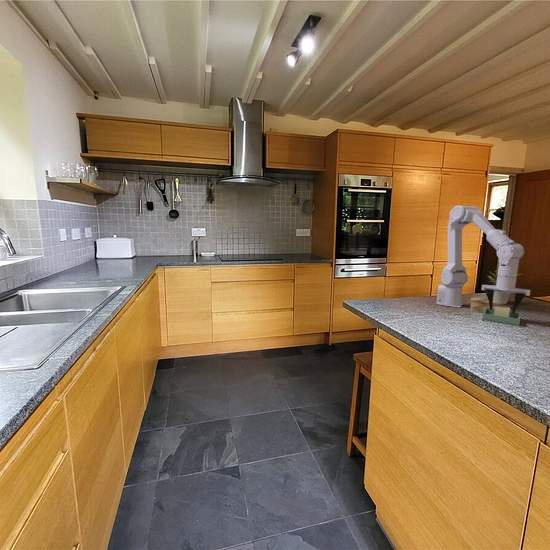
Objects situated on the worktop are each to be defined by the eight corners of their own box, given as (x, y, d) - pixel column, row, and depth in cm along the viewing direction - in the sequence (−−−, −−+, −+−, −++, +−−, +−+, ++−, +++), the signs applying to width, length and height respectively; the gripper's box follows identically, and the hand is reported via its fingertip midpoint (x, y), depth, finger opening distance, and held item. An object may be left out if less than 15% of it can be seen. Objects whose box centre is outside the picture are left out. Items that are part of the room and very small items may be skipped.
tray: (482, 319, 114) (483, 313, 113) (484, 313, 122) (485, 307, 122) (519, 326, 107) (520, 319, 107) (518, 318, 116) (519, 312, 115)
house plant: (516, 301, 144) (521, 267, 141) (526, 308, 131) (531, 271, 129) (481, 298, 150) (485, 265, 147) (487, 304, 137) (492, 269, 134)
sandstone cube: (493, 318, 114) (494, 307, 113) (493, 316, 118) (495, 305, 117) (508, 321, 111) (509, 309, 111) (508, 318, 115) (509, 307, 114)
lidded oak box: (469, 310, 126) (470, 299, 125) (470, 307, 131) (472, 296, 130) (495, 314, 121) (496, 303, 120) (496, 311, 125) (497, 300, 124)
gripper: (482, 275, 113) (478, 309, 116) (532, 279, 104) (526, 317, 107) (484, 273, 119) (480, 305, 121) (531, 277, 110) (526, 312, 112)
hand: (501, 310), depth 114 cm, fingers open, 6 cm apart
